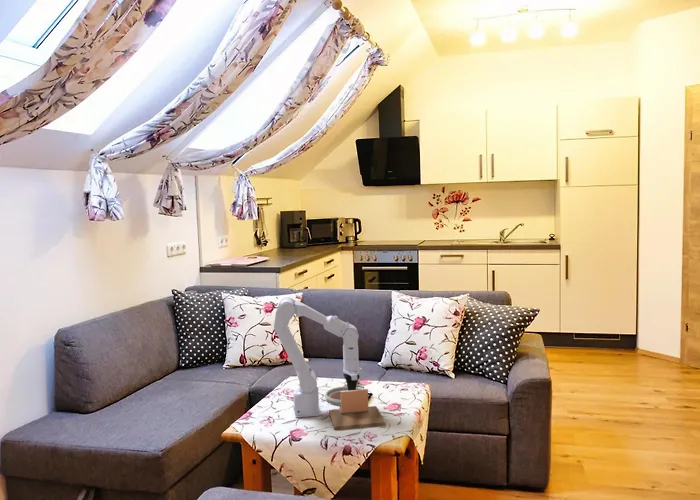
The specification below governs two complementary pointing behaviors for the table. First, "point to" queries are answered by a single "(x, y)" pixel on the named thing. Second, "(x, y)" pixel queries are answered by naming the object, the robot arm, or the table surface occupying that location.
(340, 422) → the board
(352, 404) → the tile
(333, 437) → the table surface
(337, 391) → the frying pan
